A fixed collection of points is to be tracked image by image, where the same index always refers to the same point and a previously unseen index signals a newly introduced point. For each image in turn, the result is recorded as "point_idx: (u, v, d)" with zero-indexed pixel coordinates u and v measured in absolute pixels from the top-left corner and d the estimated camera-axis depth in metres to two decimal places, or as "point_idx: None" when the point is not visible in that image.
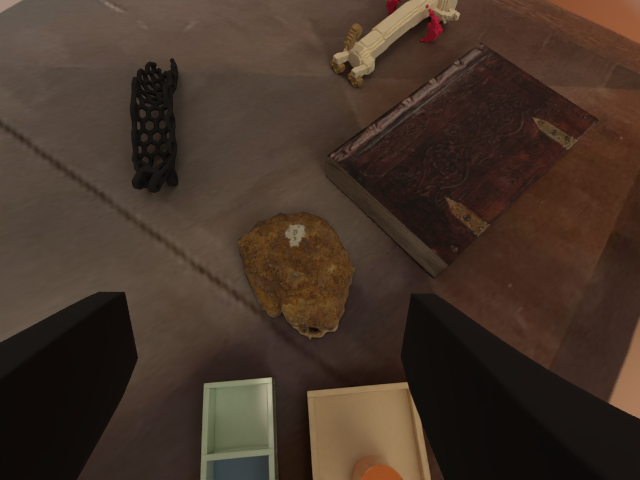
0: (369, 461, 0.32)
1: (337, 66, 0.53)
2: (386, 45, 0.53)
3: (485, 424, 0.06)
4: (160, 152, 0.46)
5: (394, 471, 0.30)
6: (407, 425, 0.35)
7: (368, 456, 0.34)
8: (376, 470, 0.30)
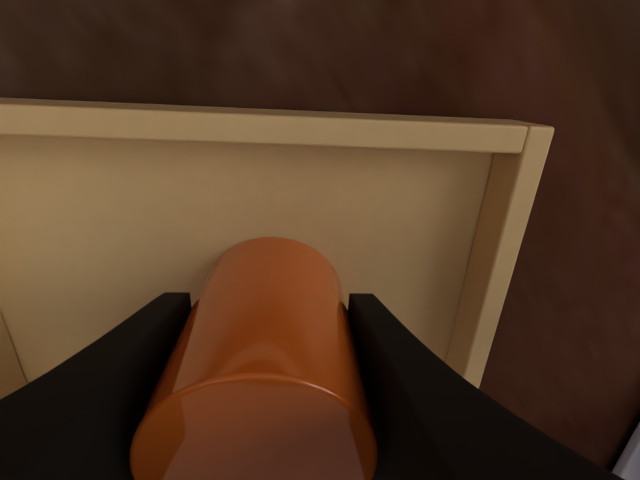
0: None
1: None
2: None
3: (390, 426, 0.06)
4: None
5: (156, 417, 0.05)
6: (94, 152, 0.08)
7: None
8: None
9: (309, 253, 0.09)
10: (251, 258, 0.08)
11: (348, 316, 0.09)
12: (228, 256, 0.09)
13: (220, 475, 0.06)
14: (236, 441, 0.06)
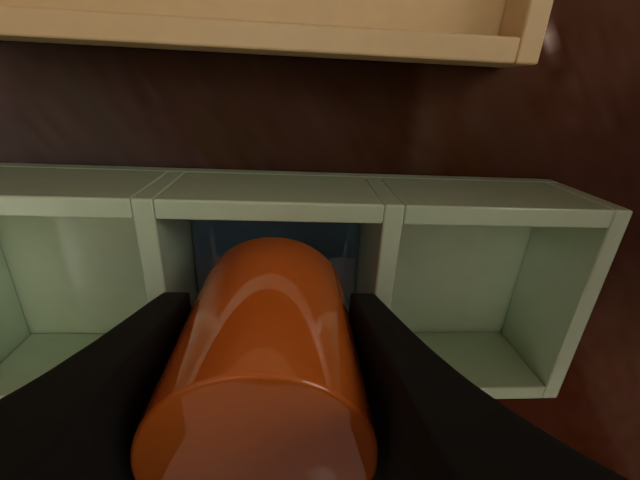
0: None
1: None
2: None
3: (392, 426, 0.06)
4: None
5: (156, 416, 0.05)
6: None
7: None
8: None
9: (309, 252, 0.09)
10: (251, 258, 0.08)
11: (348, 316, 0.09)
12: (228, 256, 0.09)
13: (221, 474, 0.06)
14: (237, 440, 0.06)
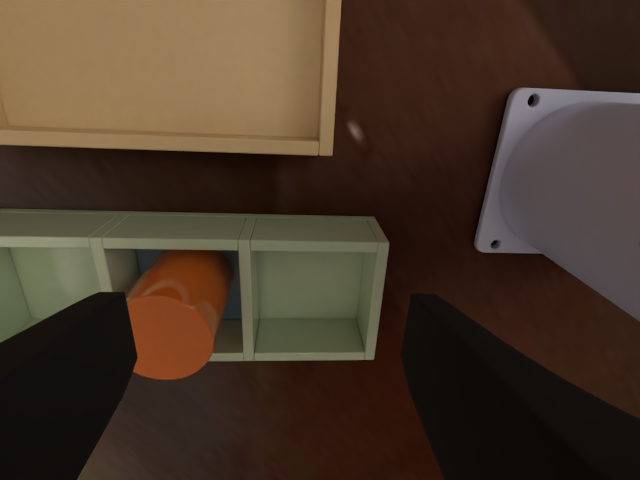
0: None
1: None
2: None
3: (485, 424, 0.06)
4: None
5: None
6: None
7: None
8: None
9: None
10: (172, 252, 0.16)
11: (224, 282, 0.17)
12: (163, 251, 0.17)
13: (144, 343, 0.14)
14: (149, 326, 0.13)
